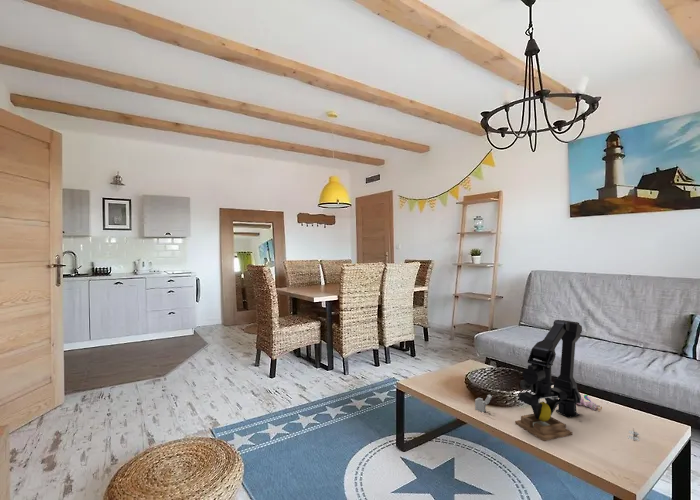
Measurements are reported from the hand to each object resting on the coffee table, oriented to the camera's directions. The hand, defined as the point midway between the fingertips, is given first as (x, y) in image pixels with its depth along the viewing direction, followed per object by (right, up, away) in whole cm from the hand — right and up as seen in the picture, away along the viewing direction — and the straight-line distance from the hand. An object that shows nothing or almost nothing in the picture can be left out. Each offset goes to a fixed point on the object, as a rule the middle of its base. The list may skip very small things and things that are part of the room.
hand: (542, 417), depth 141 cm
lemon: (0, -2, 0) cm, 2 cm away
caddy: (0, -4, 0) cm, 4 cm away
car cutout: (+34, -5, -3) cm, 34 cm away
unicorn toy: (+29, -5, +21) cm, 36 cm away
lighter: (-18, -5, +15) cm, 24 cm away
